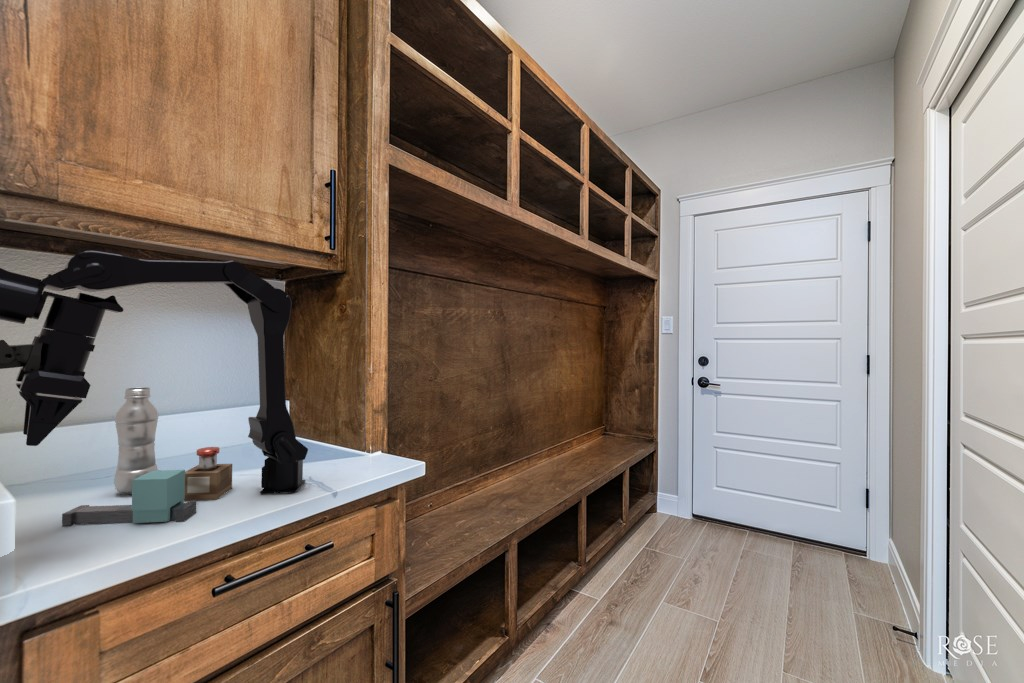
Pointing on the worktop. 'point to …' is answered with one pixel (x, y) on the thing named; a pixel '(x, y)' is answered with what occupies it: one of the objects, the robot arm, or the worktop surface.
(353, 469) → the worktop surface
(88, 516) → the rail
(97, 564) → the worktop surface
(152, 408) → the plastic bottle
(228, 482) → the brown button housing
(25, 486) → the worktop surface
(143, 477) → the carriage
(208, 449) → the button
